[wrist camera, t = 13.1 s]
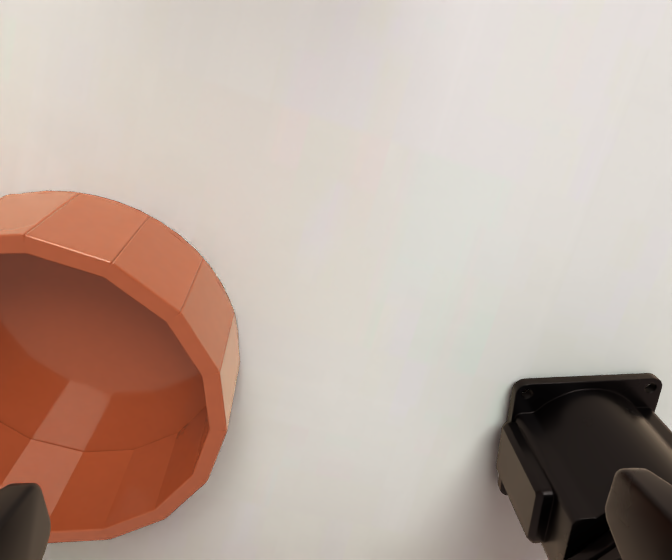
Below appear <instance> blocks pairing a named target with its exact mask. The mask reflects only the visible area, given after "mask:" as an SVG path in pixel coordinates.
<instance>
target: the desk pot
mask: <svg viewBox="0 0 672 560" xmlns="http://www.w3.org/2000/svg"><path fill="white" fill-rule="evenodd" d="M239 364H240V358H239V343H238V329H237V324H236V318H235V312H234V309H233V308H232V306H231V303H230V300H229V297H228V295H227V293H226V291H225V289H224V288H223V286H222V284H221V282H220V280H219V279H218V277H217V276H216V274H215V273H214V271H213V270H212V268H211V267H210V265H209V264H208V263H207V262H206V261H205V260H204V259H203V257H202V256H201V255H200V254H199V253H198V252H197V251H196V250H195V249H194V248H193V247H192V246H191V245H190V244H189V243H188V242H187V241H185V240H184V239H183V238H182V237H181V236H180V235H179V234H177V233H176V232H174V231H173V230H171V229H170V228H169V227H167V226H166V225H164V224H163V223H161V222H160V221H158V220H156V219H154V218H153V217H151V216H149V215H147V214H145V213H143V212H142V211H140V210H137V209H135V208H132V207H130V206H127V205H125V204H122V203H120V202H117V201H114V200H110V199H106V198H103V197H99V196H95V195H90V194H83V193H77V192H68V191H40V192H29V193H22V194H9V195H5V196H3V197H1V198H0V489H2V488H3V487H5V486H6V485H8V484H12V483H36V484H38V485H39V486H40V488H41V490H42V493H43V497H44V500H45V503H46V507H47V510H48V514H49V517H50V522H51V531H50V536H49V540H48V543H58V542H76V541H93V540H107V539H112V538H115V537H118V536H121V535H123V534H126V533H129V532H131V531H134V530H137V529H140V528H142V527H145V526H148V525H150V524H153V523H156V522H158V521H161V520H164V519H165V518H167V517H168V516H169V515H170V514H171V513H172V512H174V511H175V510H176V509H177V508H178V507H179V506H180V505H181V504H183V503H184V502H185V501H186V500H187V499H188V498H189V497H190V496H192V495H193V494H194V493H195V492H196V491H197V490H198V489H199V488H200V487H202V486H203V485H204V484H205V483H206V482H207V480H208V479H209V476H210V474H211V471H212V469H213V466H214V464H215V461H216V459H217V456H218V453H219V451H220V448H221V446H222V443H223V441H224V438H225V436H226V433H227V429H228V424H229V418H230V413H231V408H232V402H233V397H234V392H235V386H236V381H237V375H238V370H239Z"/></svg>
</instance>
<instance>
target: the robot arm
mask: <svg viewBox="0 0 672 560" xmlns="http://www.w3.org/2000/svg"><path fill="white" fill-rule="evenodd" d="M648 384H650V385H649V386H647V385H648ZM646 386H647V387H646ZM525 389H529V390H528V391H527V392H524V393H522V391H524V390H525ZM661 389H662V383H661V381H660V380H659V379H658V378H657V377H656V376H655V375H653V374H651V373H640V374H618V375H596V376H573V377H551V378H529V379H521V380H519V381H517V382H516V383H515V384H514V385H513V388H512V394H511V400H510V406H509V413H508V419H507V422H506V423H505V424H504V425H503V427H502V430H501V436H500V443H499V450H498V456H497V463H496V469H497V471H498V473H499V477H498V486H499V488H500V491H501V492H502V493H503V494H504V495H508V496H509V499H510V501H511V503H512V505H513V508H514V510H515V512H516V515H517V517H518V519H519V521H520V524H521V526H522V528H523V531H524V533H525V535H526V537H527V538H528V539H529V540H530V541H531V542H532V543H541V544H542V546H543V548H544V550H545V552H546V554H547V557H548V559H549V560H672V432H671V430H670V429H669V428H668V427H667V426H666V425H665V424H664V423H663V422H662V421H661V419H660V418H659V417H658V416H657V415H656V414H655V413H654V412H655V409H656V405H657V402H658V399H659V395H660V392H661ZM50 531H51V522H50V517H49V514H48V510H47V507H46V503H45V500H44V497H43V493H42V490H41V488H40V486H39V485H38V484H36V483H12V484H8V485H6V486H5V487H3V488H2V489H0V560H42V558H43V555H44V552H45V549H46V546H47V543H48V540H49V536H50Z"/></svg>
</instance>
